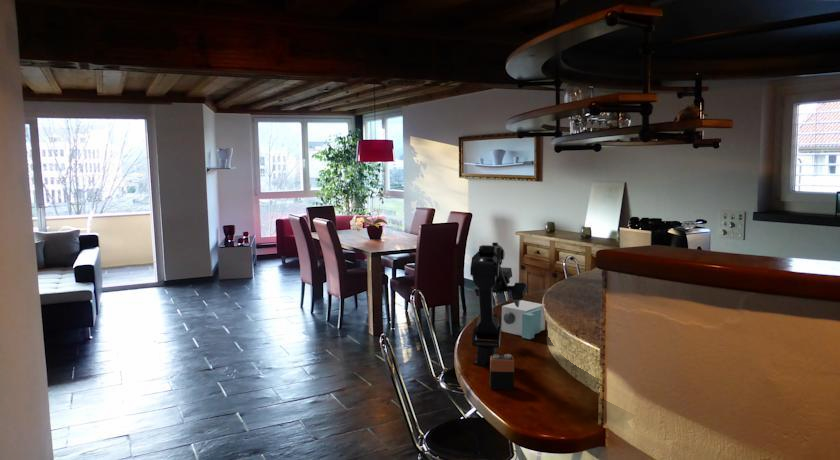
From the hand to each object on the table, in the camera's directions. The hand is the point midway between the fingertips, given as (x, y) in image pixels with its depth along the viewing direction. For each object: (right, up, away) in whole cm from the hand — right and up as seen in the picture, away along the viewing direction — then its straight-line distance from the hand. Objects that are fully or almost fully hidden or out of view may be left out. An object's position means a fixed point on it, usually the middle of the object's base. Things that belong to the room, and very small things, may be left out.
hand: (506, 305), depth 225 cm
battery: (-8, -19, -44) cm, 49 cm away
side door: (+11, -12, +8) cm, 18 cm away
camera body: (+9, -12, +16) cm, 22 cm away
